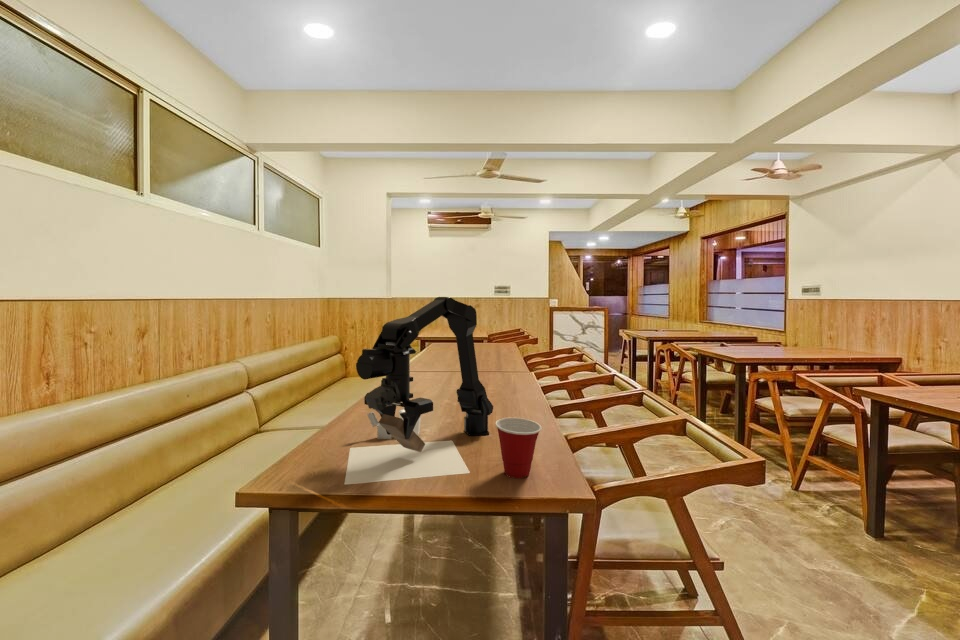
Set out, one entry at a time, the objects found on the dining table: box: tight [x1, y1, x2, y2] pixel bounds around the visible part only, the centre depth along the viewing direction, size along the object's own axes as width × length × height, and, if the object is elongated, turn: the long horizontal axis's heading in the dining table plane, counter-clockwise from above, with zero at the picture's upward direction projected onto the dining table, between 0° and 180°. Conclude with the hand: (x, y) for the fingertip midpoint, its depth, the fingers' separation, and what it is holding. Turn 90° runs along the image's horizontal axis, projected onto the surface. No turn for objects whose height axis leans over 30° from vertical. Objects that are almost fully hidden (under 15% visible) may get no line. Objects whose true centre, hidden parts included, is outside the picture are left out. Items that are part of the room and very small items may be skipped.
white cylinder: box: [398, 408, 422, 435], centre depth 131 cm, size 7×7×7 cm
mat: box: [344, 440, 471, 485], centre depth 108 cm, size 28×24×1 cm
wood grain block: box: [378, 414, 425, 452], centre depth 107 cm, size 3×6×12 cm
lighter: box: [367, 411, 394, 440], centre depth 125 cm, size 7×2×8 cm, turn 85°
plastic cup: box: [495, 417, 543, 479], centre depth 100 cm, size 11×11×12 cm
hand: (398, 436), depth 106 cm, fingers closed on wood grain block, 6 cm apart
